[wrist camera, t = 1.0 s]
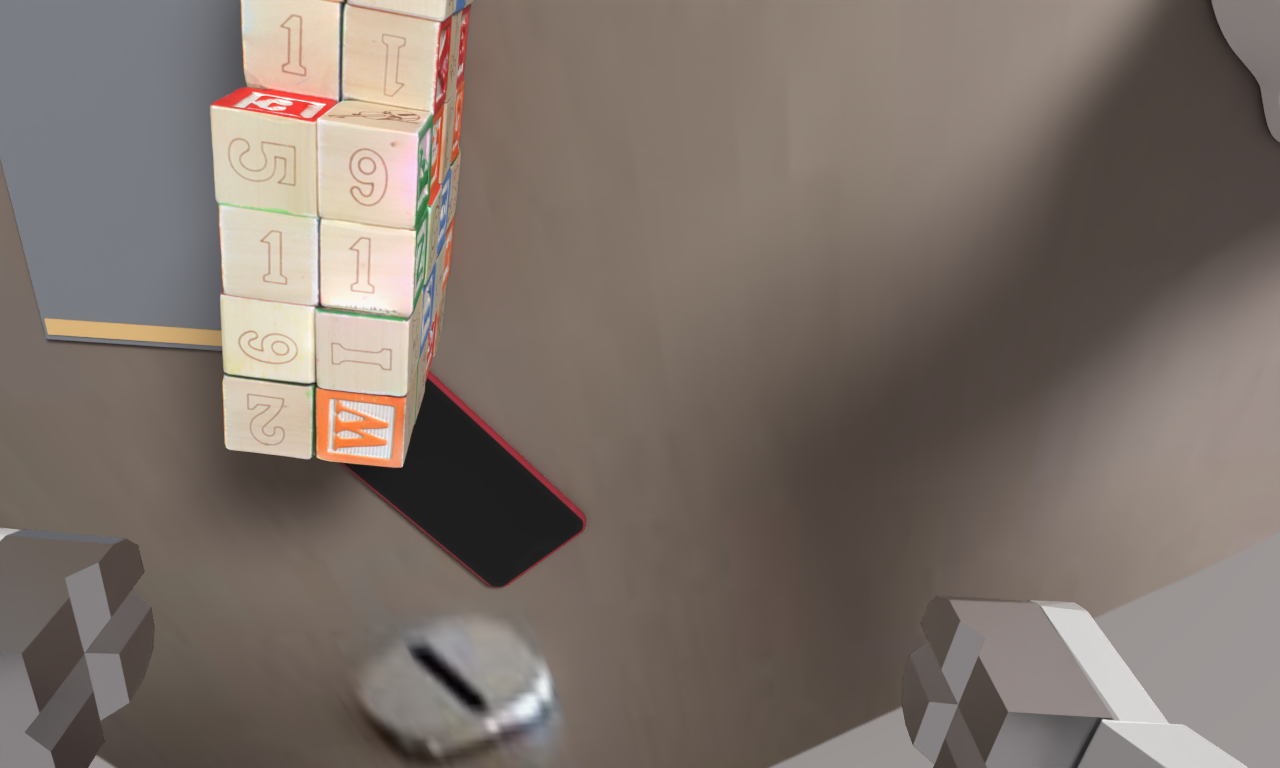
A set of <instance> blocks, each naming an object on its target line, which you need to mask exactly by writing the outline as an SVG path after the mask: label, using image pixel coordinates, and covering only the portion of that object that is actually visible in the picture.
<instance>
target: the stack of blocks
mask: <svg viewBox="0 0 1280 768" xmlns="http://www.w3.org/2000/svg"><path fill="white" fill-rule="evenodd" d="M472 2H473V0H240V4H241V32H242V48H243V69H244V75H245V81H246V83H247V87H243V88H240V89H237V90H235V91H234V92H233V93H231V94H229V95H227V96H225V97H222V98H221V99H219V100H217V101H215V102H213V103H212V104H211V105H210V117H211V132H212V148H213V164H214V183H215V199H216V201H217V202H218V204H219V235H220V250H221V270H222V285H223V291H222V292H221V295H220V310H221V331H222V353H223V369H224V372H225V375H224V377H223V381H222V384H223V414H224V442H225V446H226V448H227V449H229V450H235V451H245V452H253V453H262V454H270V455H279V456H287V457H294V458H301V459H310V458H312V457H313V456H314V455H316V457H317V458H318V459H321V460H326V461H331V462H342V463H352V464H361V465H371V466H382V467H392V468H401V467H403V464H404V461H405V457H406V453H407V450H408V446H409V442H410V438H411V434H412V430H413V426H414V425H415V422H416V419H417V415H418V413H419V409H420V406H421V402H422V399H423V395H424V392H425V382H426V380H427V376H428V372H429V368H430V365H431V362H432V357H434V356H435V355H436V351H437V347H438V343H439V339H440V335H441V331H442V324H443V313H444V303H445V293H446V283H447V278H448V276H449V271H450V260H451V250H452V239H453V228H454V214H455V208H456V200H457V190H458V180H459V169H460V158H461V150H460V149H459V138H460V128H461V116H462V105H463V95H464V85H465V81H464V77H463V76H464V67H465V58H466V47H467V35H468V25H469V13H470V4H471V3H472Z"/></svg>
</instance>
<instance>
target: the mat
mask: <svg viewBox="0 0 1280 768" xmlns="http://www.w3.org/2000/svg"><path fill="white" fill-rule="evenodd" d="M243 87H247V83H246V81H245V75H244V69H243V48H242V32H241V4H240V0H0V159H1V163H2V167H3V171H4V175H5V179H6V183H7V187H8V191H9V195H10V198H11V202H12V206H13V210H14V214H15V218H16V222H17V226H18V230H19V234H20V238H21V241H22V245H23V249H24V253H25V257H26V261H27V265H28V269H29V273H30V277H31V281H32V285H33V288H34V292H35V296H36V300H37V304H38V308H39V312H40V316H41V320H42V324H43V328H44V331H45V335H46V339H55V340H70V341H84V342H99V343H114V344H129V345H144V346H159V347H173V348H188V349H203V350H218V351H222V331H221V310H220V295H221V292H222V291H223V285H222V270H221V250H220V235H219V204H218V202H217V201H216V199H215V183H214V164H213V148H212V132H211V117H210V105H211V104H212V103H213V102H215V101H217V100H219V99H221V98H222V97H225V96H227V95H229V94H231V93H233V92H234V91H235V90H237V89H240V88H243Z"/></svg>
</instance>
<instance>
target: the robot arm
mask: <svg viewBox="0 0 1280 768" xmlns="http://www.w3.org/2000/svg"><path fill="white" fill-rule="evenodd" d="M1212 4H1213V9H1214V12H1215V15H1216V18H1217V21H1218V24H1219V26H1220V28H1221V31H1222V33H1223V35H1224V37H1225V39H1226V40H1227V42H1228V44H1229V45H1230V47H1231V48H1232V50H1233V51H1234V52H1235V54H1236V55H1237V56H1238V57H1239V58H1240V60H1241V61H1242V62H1243V63H1244V64H1245V65H1246V67H1247V68H1248V69H1249V70H1250V71H1251V73H1252V74H1253V75H1254V77H1255V78H1256V80H1257V82H1258V84H1259V86H1260V88H1261V95H1262V101H1263V107H1264V112H1265V117H1266V121H1267V125H1268V128H1269V130H1270V132H1271V134H1272V136H1273V137H1274V138H1275V139H1276V140H1277V141H1278V142H1280V0H1212ZM144 572H145V571H144V567H143V563H142V559H141V555H140V550H139V546H138V545H137V544H135V543H133V542H132V541H130V540H128V539H125V538H114V537H103V536H93V535H82V534H71V533H60V532H49V531H38V530H27V529H23V530H16V529H7V528H0V768H88V767H89V765H90V763H91V762H92V761H93V759H94V757H95V756H96V754H97V753H98V751H99V750H100V748H101V747H102V745H103V743H104V742H105V739H104V734H103V730H102V726H101V722H100V721H101V720H102V719H104V718H106V717H107V716H109V715H110V714H112V713H114V712H115V711H117V710H118V709H120V708H122V707H123V706H125V705H126V704H128V703H129V702H130V701H131V699H132V698H133V696H134V694H135V693H136V691H137V689H138V688H139V686H140V684H141V683H142V681H143V679H144V677H145V674H146V671H147V668H148V665H149V661H150V658H151V655H152V652H153V649H154V630H155V625H154V619H153V613H152V607H151V606H150V605H149V604H148V603H147V602H146V601H145V600H144V599H143V598H142V597H141V596H140V595H139V594H138V593H137V592H135V591H134V590H133V587H134V586H135V585H136V583H137V582H138V580H139V579H140V578H141V576H142V575H143V574H144ZM921 626H922V628H923V630H924V632H925V634H926V637H927V639H928V641H927V642H926V643H925V644H924V645H922V646H921V647H920V648H918V649H917V650H916V651H914V652H913V653H912V654H911V655H910V656H909V659H908V663H907V666H906V669H905V672H904V676H903V682H902V708H903V713H904V718H905V724H906V727H907V730H908V732H909V735H910V738H911V741H912V744H913V746H914V747H915V748H916V749H918V750H919V751H920V752H921V753H922V754H923V755H924V756H925V757H926V758H928V759H929V760H930V761H931V762H932V763H933V764H934V767H933V768H1248V767H1246V766H1245V765H1243V764H1242V763H1241V762H1239V761H1238V760H1236V759H1234V758H1233V757H1232V756H1230V755H1229V754H1227V753H1225V752H1224V751H1223V750H1221V749H1220V748H1218V747H1217V746H1215V745H1214V744H1212V743H1211V742H1209V741H1207V740H1206V739H1205V738H1203V737H1202V736H1200V735H1199V734H1197V733H1196V732H1194V731H1193V730H1191V729H1190V728H1188V727H1186V726H1185V725H1179V724H1169V723H1168V722H1167V720H1166V719H1165V718H1164V716H1163V715H1162V714H1161V712H1160V711H1159V709H1158V708H1157V706H1156V705H1155V704H1154V703H1153V701H1152V700H1151V698H1150V697H1149V695H1148V694H1147V693H1146V692H1145V690H1144V689H1143V687H1142V686H1141V684H1140V683H1139V682H1138V680H1137V679H1136V678H1135V676H1134V675H1133V673H1132V672H1131V671H1130V669H1129V668H1128V667H1127V665H1126V664H1125V662H1124V661H1123V660H1122V658H1121V657H1120V656H1119V654H1118V653H1117V652H1116V650H1115V649H1114V648H1113V646H1112V645H1111V643H1110V642H1109V640H1108V639H1107V638H1106V636H1105V635H1104V633H1103V632H1102V631H1101V629H1100V628H1099V627H1098V625H1097V624H1096V622H1095V621H1094V620H1093V618H1092V617H1091V616H1090V614H1089V613H1088V611H1086V610H1085V609H1084V608H1082V607H1081V606H1079V605H1078V604H1076V603H1074V602H1057V601H1035V600H1028V601H1026V602H1025V601H1016V600H1000V599H984V598H968V597H953V596H937V595H936V596H935V598H934V599H933V600H932V601H931V602H930V603H929V604H928V606H927V608H926V611H925V614H924V616H923V619H922V622H921Z"/></svg>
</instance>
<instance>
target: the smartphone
mask: <svg viewBox="0 0 1280 768" xmlns="http://www.w3.org/2000/svg"><path fill="white" fill-rule="evenodd" d="M340 463H341V464H343V465H344V466H345V467H346V468H348V469H349V470H350V471H351V472H352V473H354V474H355V475H356V476H357V477H358V478H360V479H361V480H362V481H363V482H364V483H366V484H367V485H368V486H369V487H370V488H372V489H373V490H374V491H375V492H377V493H378V494H379V495H380V496H381V497H383V498H384V499H385V500H386V501H387V502H389V503H390V504H391V505H392V506H393V507H395V508H396V509H397V510H398V511H399V512H401V513H402V514H403V515H404V516H405V517H407V518H408V519H409V520H410V521H412V522H413V523H414V524H415V525H416V526H418V527H419V528H420V529H421V530H422V531H424V532H425V533H426V534H427V535H428V536H430V537H431V538H432V539H433V540H434V541H436V542H437V543H438V544H439V545H441V546H442V547H443V548H444V549H445V550H447V551H448V552H449V553H450V554H451V555H453V556H454V557H455V558H456V559H457V560H459V561H460V562H461V563H462V564H463V565H465V566H466V567H467V568H468V569H470V570H471V571H472V572H473V573H474V574H476V575H477V576H478V577H479V578H480V579H482V580H483V581H484V582H485V583H486V584H488V585H489V586H492V587H505V586H507V585H509V584H510V583H512V582H513V581H515V580H516V579H517V578H519V577H520V576H522V575H523V574H524V573H526V572H527V571H529V570H530V569H531V568H533V567H534V566H536V565H537V564H538V563H540V562H541V561H543V560H544V559H545V558H547V557H548V556H550V555H551V554H552V553H554V552H555V551H557V550H558V549H559V548H561V547H562V546H564V545H565V544H566V543H568V542H569V541H571V540H572V539H574V538H575V537H576V536H578V535H579V534H581V533H582V532H583V531H584V529H585V527H586V518H585V515H584V514H583V513H582V512H581V510H580V509H578V508H577V507H576V506H575V505H574V504H573V503H572V502H571V501H570V500H569V499H568V498H567V497H565V496H564V495H563V494H562V493H561V492H560V491H559V490H558V489H557V488H556V487H555V486H554V485H552V484H551V483H550V482H549V481H548V480H547V479H546V478H545V477H544V476H543V475H542V474H541V473H539V472H538V471H537V470H536V469H535V468H534V467H533V466H532V465H531V464H530V463H529V462H528V461H526V460H525V459H524V458H523V457H522V456H521V455H520V454H519V453H518V452H517V451H516V450H515V449H513V448H512V447H511V446H510V445H509V444H508V443H507V442H506V441H505V440H504V439H503V438H502V437H500V436H499V435H498V434H497V433H496V432H495V431H494V430H493V429H492V428H491V427H490V426H489V425H487V424H486V423H485V422H484V421H483V420H482V419H481V418H480V417H479V416H478V415H477V414H476V413H474V412H473V411H472V410H471V409H470V408H469V407H468V406H467V405H466V404H465V403H464V402H463V401H461V400H460V399H459V398H458V397H457V396H456V395H455V394H454V393H453V392H452V391H451V390H450V389H448V388H447V387H446V386H445V385H444V384H443V383H442V382H441V381H440V380H439V379H438V378H437V377H435V376H434V375H433V374H432V373H431V372H430V371H429V372H428V376H427V380H426V382H425V392H424V395H423V399H422V402H421V406H420V409H419V413H418V415H417V419H416V422H415V425H414V426H413V430H412V434H411V438H410V442H409V446H408V450H407V453H406V457H405V461H404V464H403V467H401V468H392V467H382V466H371V465H361V464H352V463H342V462H340Z"/></svg>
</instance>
